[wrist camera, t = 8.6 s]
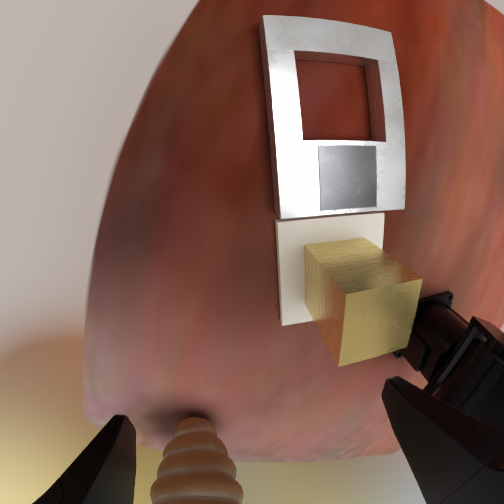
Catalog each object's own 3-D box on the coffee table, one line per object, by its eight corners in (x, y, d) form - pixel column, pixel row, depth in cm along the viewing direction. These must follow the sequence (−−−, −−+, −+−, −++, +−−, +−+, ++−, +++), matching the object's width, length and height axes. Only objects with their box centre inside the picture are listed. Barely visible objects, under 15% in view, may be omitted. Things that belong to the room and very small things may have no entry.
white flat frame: (377, 39, 15) (391, 32, 13) (389, 203, 19) (405, 209, 17) (258, 27, 14) (263, 14, 12) (274, 212, 19) (281, 219, 17)
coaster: (378, 210, 19) (384, 212, 19) (371, 303, 22) (375, 308, 22) (275, 219, 19) (277, 222, 18) (280, 320, 22) (282, 325, 21)
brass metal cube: (364, 237, 19) (422, 278, 13) (360, 293, 21) (406, 347, 14) (304, 244, 19) (346, 294, 12) (304, 303, 20) (338, 366, 14)
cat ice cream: (202, 446, 27) (209, 578, 10) (144, 421, 25) (128, 568, 8) (252, 414, 26) (282, 573, 9) (189, 384, 23) (187, 576, 6)
